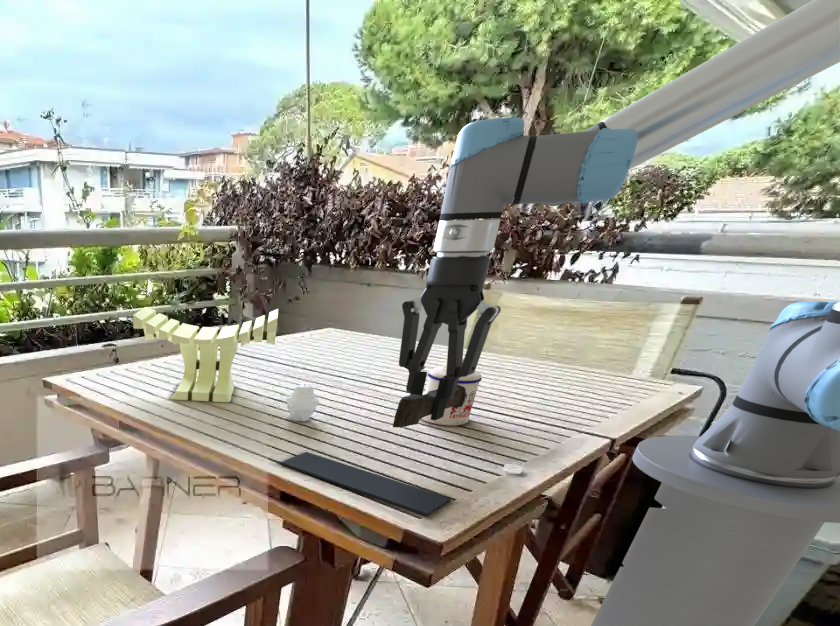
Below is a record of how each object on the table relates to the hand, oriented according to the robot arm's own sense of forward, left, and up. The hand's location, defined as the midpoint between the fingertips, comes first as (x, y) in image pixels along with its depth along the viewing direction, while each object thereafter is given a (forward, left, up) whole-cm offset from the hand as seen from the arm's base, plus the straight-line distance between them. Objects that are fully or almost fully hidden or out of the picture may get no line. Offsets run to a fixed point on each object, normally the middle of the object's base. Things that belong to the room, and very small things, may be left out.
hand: (424, 415), depth 89 cm
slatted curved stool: (+52, -2, -7) cm, 52 cm away
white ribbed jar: (+24, -2, -7) cm, 25 cm away
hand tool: (-1, 0, -1) cm, 1 cm away
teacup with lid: (+5, -24, -7) cm, 25 cm away
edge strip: (0, +17, -7) cm, 18 cm away
